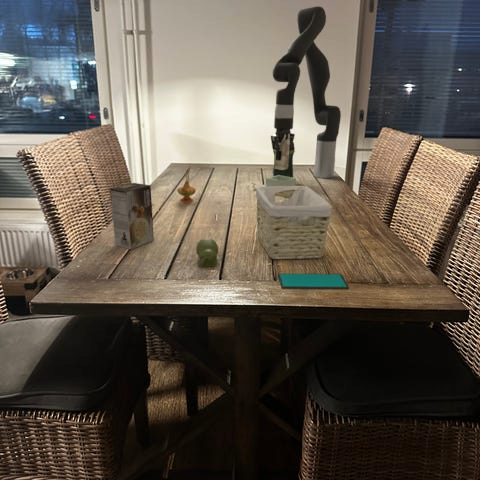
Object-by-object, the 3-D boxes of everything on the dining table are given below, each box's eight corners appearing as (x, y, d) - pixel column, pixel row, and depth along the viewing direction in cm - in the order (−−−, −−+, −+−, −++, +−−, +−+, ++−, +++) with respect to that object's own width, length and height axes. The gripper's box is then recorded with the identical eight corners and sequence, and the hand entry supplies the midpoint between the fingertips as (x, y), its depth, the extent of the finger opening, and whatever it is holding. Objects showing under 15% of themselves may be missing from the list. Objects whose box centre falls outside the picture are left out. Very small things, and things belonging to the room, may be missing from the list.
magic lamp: (173, 207, 158) (172, 177, 154) (180, 195, 175) (179, 167, 171) (192, 207, 158) (192, 177, 154) (197, 195, 175) (197, 168, 171)
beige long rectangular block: (280, 167, 186) (281, 134, 181) (288, 168, 183) (289, 135, 179) (274, 168, 183) (276, 135, 178) (282, 170, 180) (284, 136, 176)
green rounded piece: (217, 234, 114) (220, 254, 106) (216, 251, 117) (219, 272, 108) (195, 234, 114) (196, 254, 105) (195, 252, 116) (196, 273, 108)
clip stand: (276, 184, 197) (276, 172, 195) (306, 190, 187) (307, 178, 185) (253, 190, 185) (254, 178, 184) (285, 196, 176) (285, 184, 174)
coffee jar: (293, 181, 204) (295, 140, 198) (292, 184, 197) (295, 142, 190) (272, 180, 205) (274, 139, 199) (271, 183, 198) (272, 141, 192)
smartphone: (349, 287, 98) (282, 286, 97) (348, 290, 98) (281, 290, 98) (341, 273, 105) (278, 273, 104) (340, 277, 105) (278, 276, 105)
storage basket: (253, 232, 134) (254, 184, 129) (305, 231, 136) (308, 184, 131) (267, 263, 111) (269, 206, 106) (329, 261, 113) (334, 205, 108)
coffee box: (138, 236, 128) (134, 182, 123) (154, 240, 125) (151, 185, 120) (114, 245, 121) (109, 188, 116) (131, 250, 118) (126, 191, 112)
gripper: (286, 115, 183) (284, 156, 189) (265, 116, 173) (263, 160, 179) (301, 116, 179) (298, 158, 185) (281, 117, 169) (278, 162, 174)
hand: (281, 159), depth 182 cm, fingers closed on beige long rectangular block, 4 cm apart
